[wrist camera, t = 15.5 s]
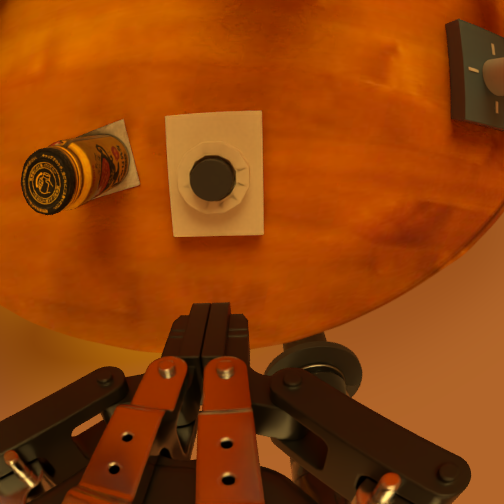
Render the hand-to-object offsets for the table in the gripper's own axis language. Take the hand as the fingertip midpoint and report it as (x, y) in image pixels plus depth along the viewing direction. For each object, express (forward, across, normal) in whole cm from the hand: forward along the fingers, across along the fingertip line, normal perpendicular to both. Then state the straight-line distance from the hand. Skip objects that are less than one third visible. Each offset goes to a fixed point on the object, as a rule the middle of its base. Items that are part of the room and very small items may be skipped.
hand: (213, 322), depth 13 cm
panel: (+21, -30, -16) cm, 40 cm away
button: (+18, +2, -4) cm, 18 cm away
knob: (+18, -30, -16) cm, 38 cm away
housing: (+21, +2, -4) cm, 22 cm away
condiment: (+22, +14, -6) cm, 27 cm away
